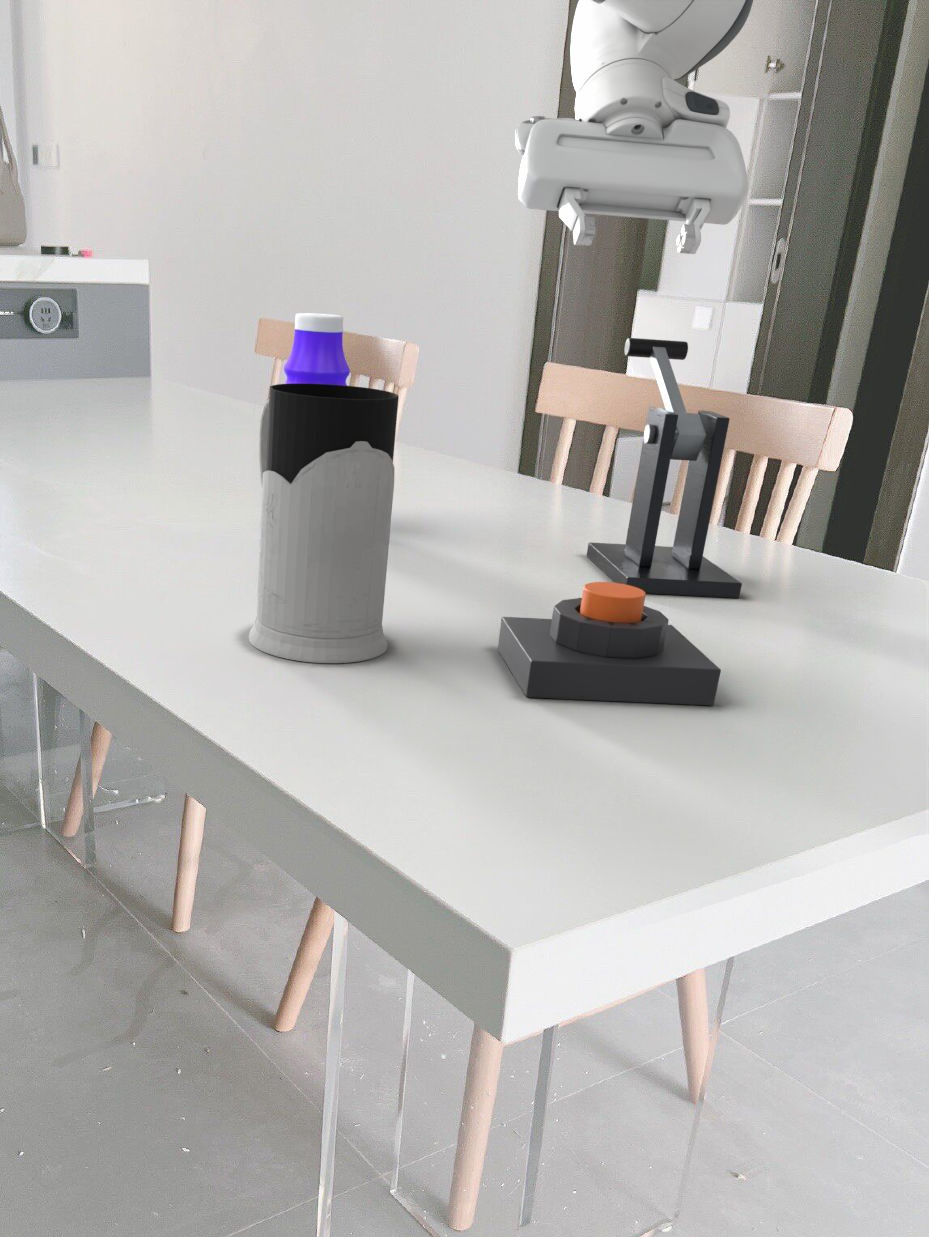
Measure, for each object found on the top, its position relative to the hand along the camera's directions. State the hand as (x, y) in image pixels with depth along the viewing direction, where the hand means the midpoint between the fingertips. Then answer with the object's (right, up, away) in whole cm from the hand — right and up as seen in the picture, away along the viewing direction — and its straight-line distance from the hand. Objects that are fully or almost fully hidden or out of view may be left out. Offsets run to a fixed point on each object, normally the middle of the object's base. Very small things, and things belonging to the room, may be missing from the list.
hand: (637, 244), depth 107 cm
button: (-11, -38, -35) cm, 53 cm away
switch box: (-11, -42, -33) cm, 54 cm away
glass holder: (-29, -38, -28) cm, 56 cm away
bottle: (-29, -24, +3) cm, 38 cm away
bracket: (0, -31, -8) cm, 32 cm away
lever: (0, -17, -8) cm, 19 cm away
